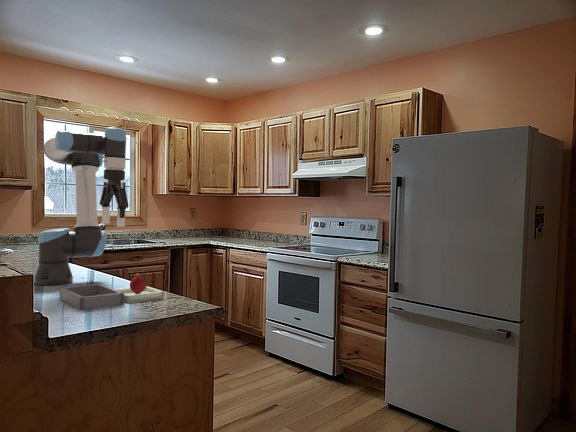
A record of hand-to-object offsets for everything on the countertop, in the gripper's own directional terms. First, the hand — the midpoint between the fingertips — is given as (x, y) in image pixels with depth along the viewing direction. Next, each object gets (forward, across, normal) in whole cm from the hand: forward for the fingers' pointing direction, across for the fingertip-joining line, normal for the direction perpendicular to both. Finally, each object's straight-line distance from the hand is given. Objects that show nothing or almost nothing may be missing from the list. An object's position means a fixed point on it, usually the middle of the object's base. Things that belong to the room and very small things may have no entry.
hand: (113, 225), depth 170 cm
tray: (+27, +10, +6) cm, 29 cm away
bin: (+27, +7, -10) cm, 29 cm away
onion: (+26, +10, +6) cm, 28 cm away
